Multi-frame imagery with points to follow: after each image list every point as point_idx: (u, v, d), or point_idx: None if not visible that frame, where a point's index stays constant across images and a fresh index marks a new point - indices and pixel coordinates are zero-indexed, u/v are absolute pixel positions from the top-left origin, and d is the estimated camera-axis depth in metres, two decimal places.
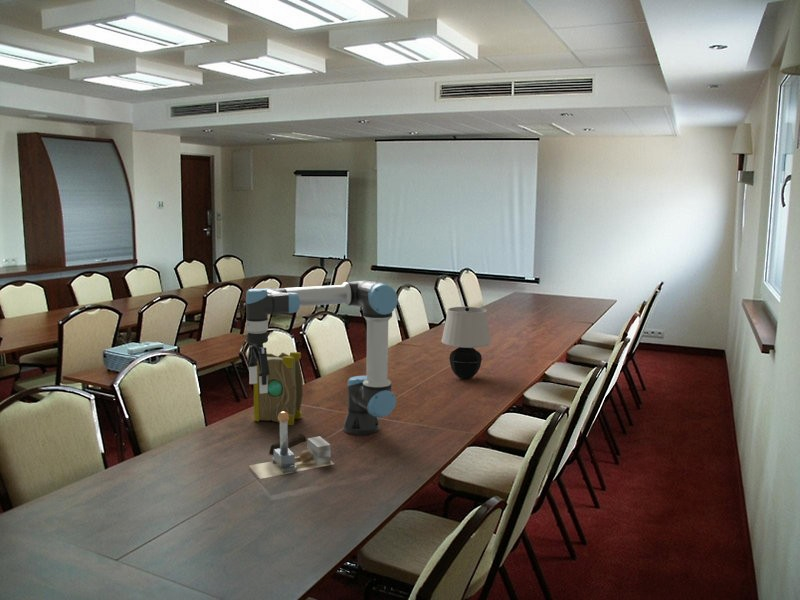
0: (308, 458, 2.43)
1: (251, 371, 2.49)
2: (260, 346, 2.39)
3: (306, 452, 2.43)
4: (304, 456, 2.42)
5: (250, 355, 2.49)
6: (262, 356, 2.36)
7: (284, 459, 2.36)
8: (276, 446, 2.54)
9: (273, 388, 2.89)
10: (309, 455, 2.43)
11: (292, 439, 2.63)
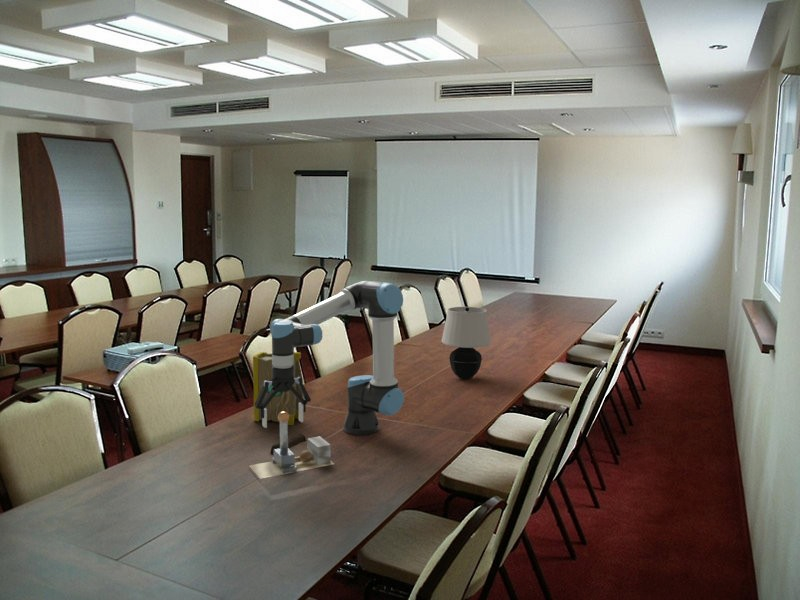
0: (308, 458, 2.43)
1: (299, 407, 2.41)
2: (273, 380, 2.34)
3: (306, 452, 2.43)
4: (304, 456, 2.42)
5: (301, 391, 2.41)
6: (262, 389, 2.33)
7: (284, 459, 2.36)
8: (277, 446, 2.54)
9: None
10: (309, 455, 2.43)
11: (292, 439, 2.63)
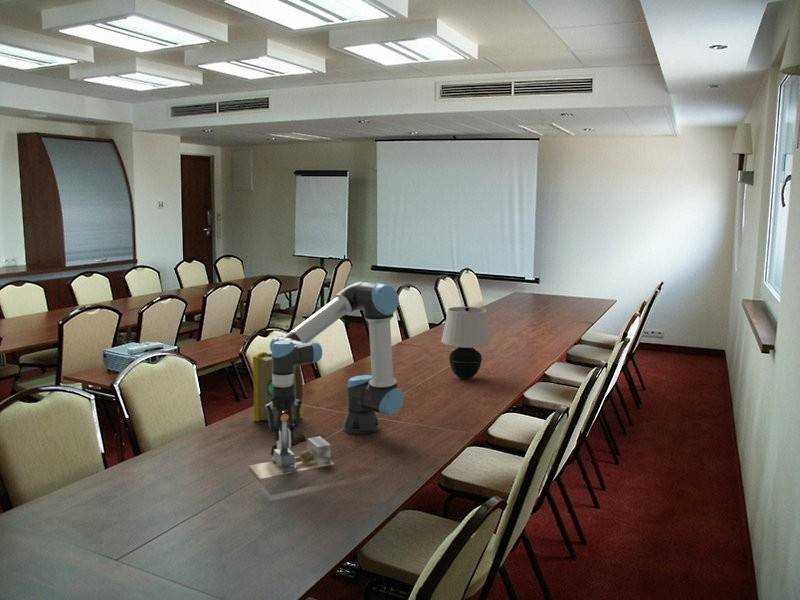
0: (308, 458, 2.43)
1: None
2: (272, 400, 2.35)
3: (306, 452, 2.43)
4: (304, 456, 2.42)
5: (294, 414, 2.41)
6: (267, 412, 2.35)
7: (284, 459, 2.36)
8: None
9: None
10: (309, 455, 2.43)
11: (292, 439, 2.63)
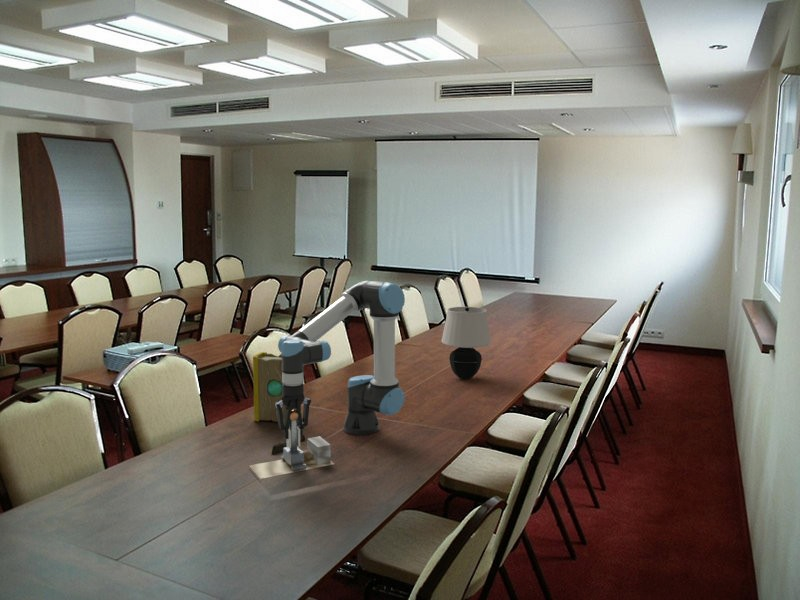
0: (308, 458, 2.43)
1: None
2: (282, 399, 2.37)
3: (306, 452, 2.43)
4: (304, 456, 2.42)
5: (303, 413, 2.42)
6: (277, 411, 2.37)
7: (294, 457, 2.38)
8: (278, 446, 2.53)
9: (273, 388, 2.89)
10: (309, 455, 2.43)
11: None
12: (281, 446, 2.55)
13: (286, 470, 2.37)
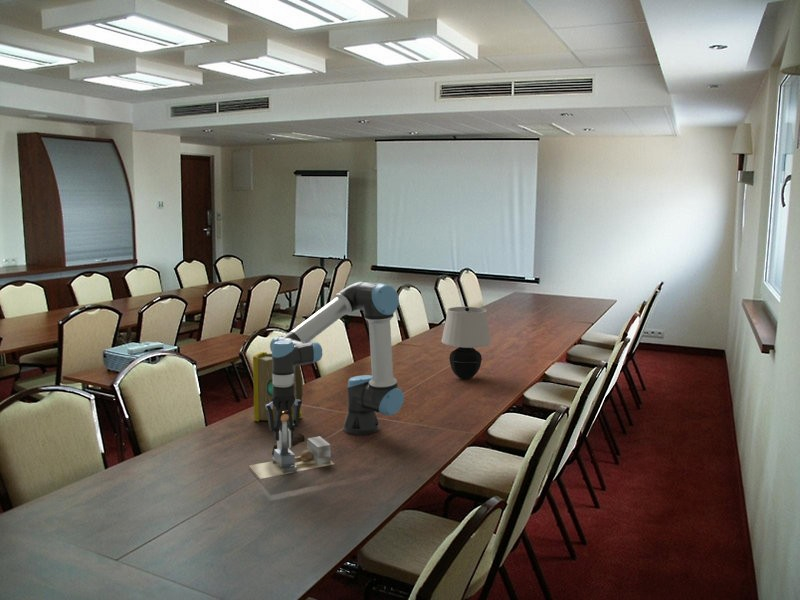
0: (309, 458, 2.43)
1: None
2: (272, 400, 2.35)
3: (308, 452, 2.44)
4: (305, 455, 2.43)
5: (294, 414, 2.41)
6: (267, 412, 2.35)
7: (284, 459, 2.36)
8: None
9: None
10: (310, 455, 2.43)
11: (292, 439, 2.63)
12: None
13: None
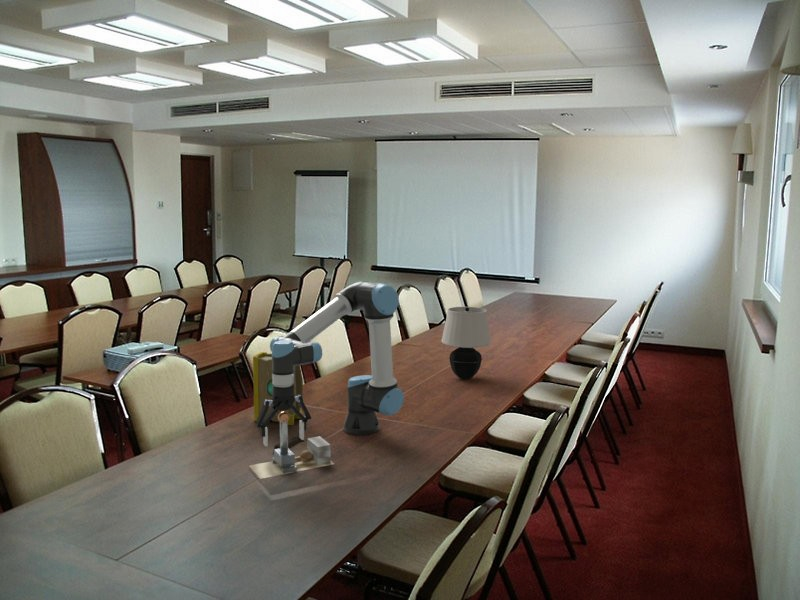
0: (308, 458, 2.43)
1: (299, 425, 2.42)
2: None
3: (307, 452, 2.43)
4: (304, 455, 2.42)
5: (302, 409, 2.42)
6: (263, 407, 2.34)
7: (284, 459, 2.36)
8: (279, 446, 2.53)
9: None
10: (310, 455, 2.43)
11: (292, 439, 2.63)
12: None
13: None
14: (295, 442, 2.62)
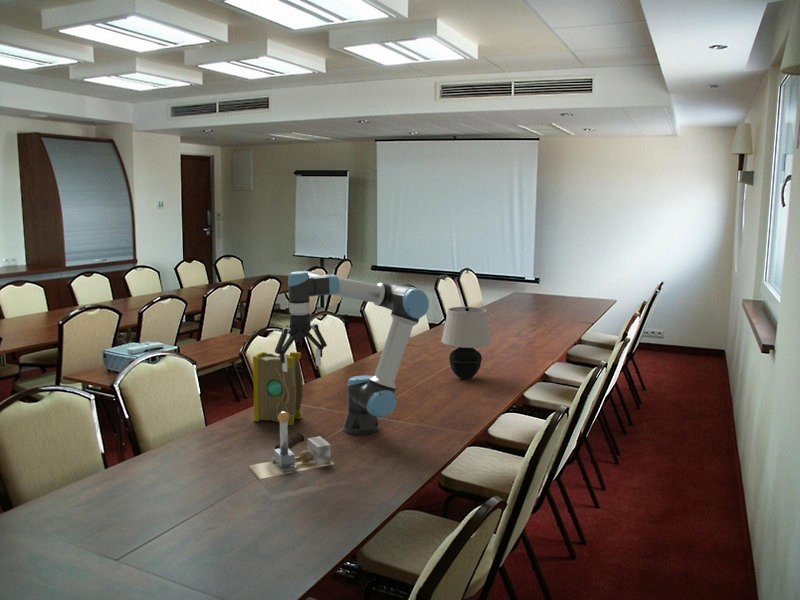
0: (308, 458, 2.43)
1: (316, 353, 2.55)
2: (291, 327, 2.48)
3: (306, 452, 2.43)
4: (303, 456, 2.42)
5: (317, 337, 2.55)
6: (281, 335, 2.46)
7: (284, 459, 2.36)
8: None
9: (273, 388, 2.89)
10: (309, 455, 2.43)
11: (292, 439, 2.63)
12: None
13: None
14: (295, 442, 2.62)
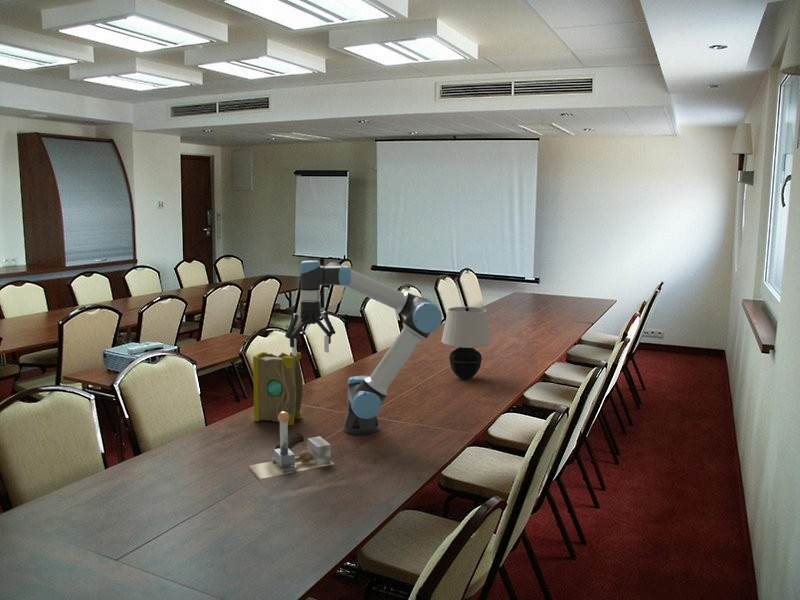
0: (307, 458, 2.43)
1: (325, 339, 2.66)
2: (301, 313, 2.58)
3: (304, 452, 2.43)
4: (302, 456, 2.42)
5: (327, 325, 2.65)
6: (292, 321, 2.57)
7: (284, 459, 2.36)
8: None
9: (273, 388, 2.89)
10: (308, 455, 2.43)
11: (292, 439, 2.63)
12: None
13: None
14: (295, 442, 2.63)
